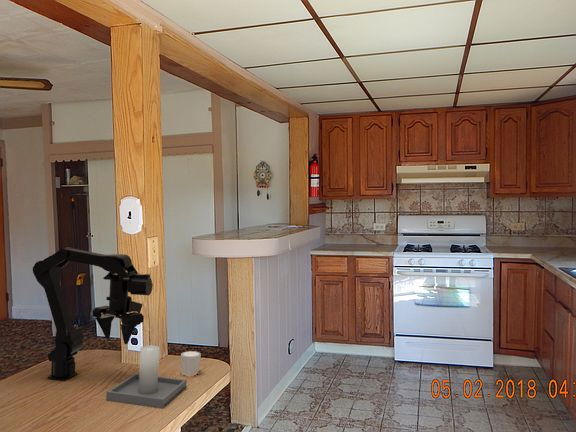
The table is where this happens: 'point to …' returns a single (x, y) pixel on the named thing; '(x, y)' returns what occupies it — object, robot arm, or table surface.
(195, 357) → the shot glass
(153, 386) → the candle
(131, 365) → the table surface
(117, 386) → the tray
